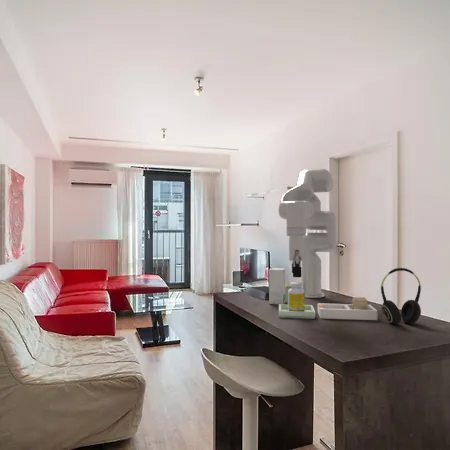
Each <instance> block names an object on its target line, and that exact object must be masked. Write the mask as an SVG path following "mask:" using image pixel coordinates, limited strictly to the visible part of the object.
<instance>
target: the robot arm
mask: <svg viewBox="0 0 450 450" xmlns="http://www.w3.org/2000/svg"><path fill="white" fill-rule="evenodd" d="M333 179H334V178H333V176H332V174H331V173H330V170H328V169H326V168H315V169H312V168H311V169H304V170H302V171H300V172H299V174H298V177H297V180H296V184H295V187H293V188H291V189H289V190H287V192H285V193H284V194H283V195H282V196H281V199H280V202H279V206H278V216H279V217H280V218H281V219H283V220H286V237H288V260H289V262H292V263H291V273H292V277H293V278H301V283H302V287H301V288H302V289H303V290H304V293H305V295H304V298H309V299H317V298H324V297H325V293H324V292H322V260H321V257H320V256H319V255H318V253H332V252H334V251H336V248H337V219H336V218H337V217H336V216H337V215H336V214H335V212H334V211H331V210H321V208H322V207H321V203H322V202H321V199H320V198H319V197H318V195H316V193H329V192H331V191H332V190H333V187H334V180H333ZM307 230H308V231H309V230H310V231H326V232H307Z"/></svg>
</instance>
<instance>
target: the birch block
mask: <svg viewBox="0 0 450 450" xmlns="http://www.w3.org/2000/svg"><path fill="white" fill-rule="evenodd" d="M352 304H353V309H357V310H367V305H368V299H367V298H366V297H364V296H363V297H360V296H357V297H356V296H355V297H353V296H352Z"/></svg>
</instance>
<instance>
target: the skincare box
mask: <svg viewBox="0 0 450 450" xmlns="http://www.w3.org/2000/svg"><path fill="white" fill-rule="evenodd" d="M268 282H269V283H268V287H269V300H268V302H269V304H270V305H277V306H279V304H286V302H285V301H286V268H284V267H283V268H282V267H281V268H277V267H274V268H269V269H268Z"/></svg>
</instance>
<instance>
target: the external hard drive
mask: <svg viewBox="0 0 450 450" xmlns="http://www.w3.org/2000/svg"><path fill="white" fill-rule="evenodd" d="M245 294H247V295H248V294H249V296H251V297H253V296H254V297H253V298H257V299H259V298H260V299H259V300H263V299H264V300H263V301H266V300H265V299H269V285H268V286H267V285H260V286H248V287H247V288H246V291H245Z"/></svg>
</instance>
